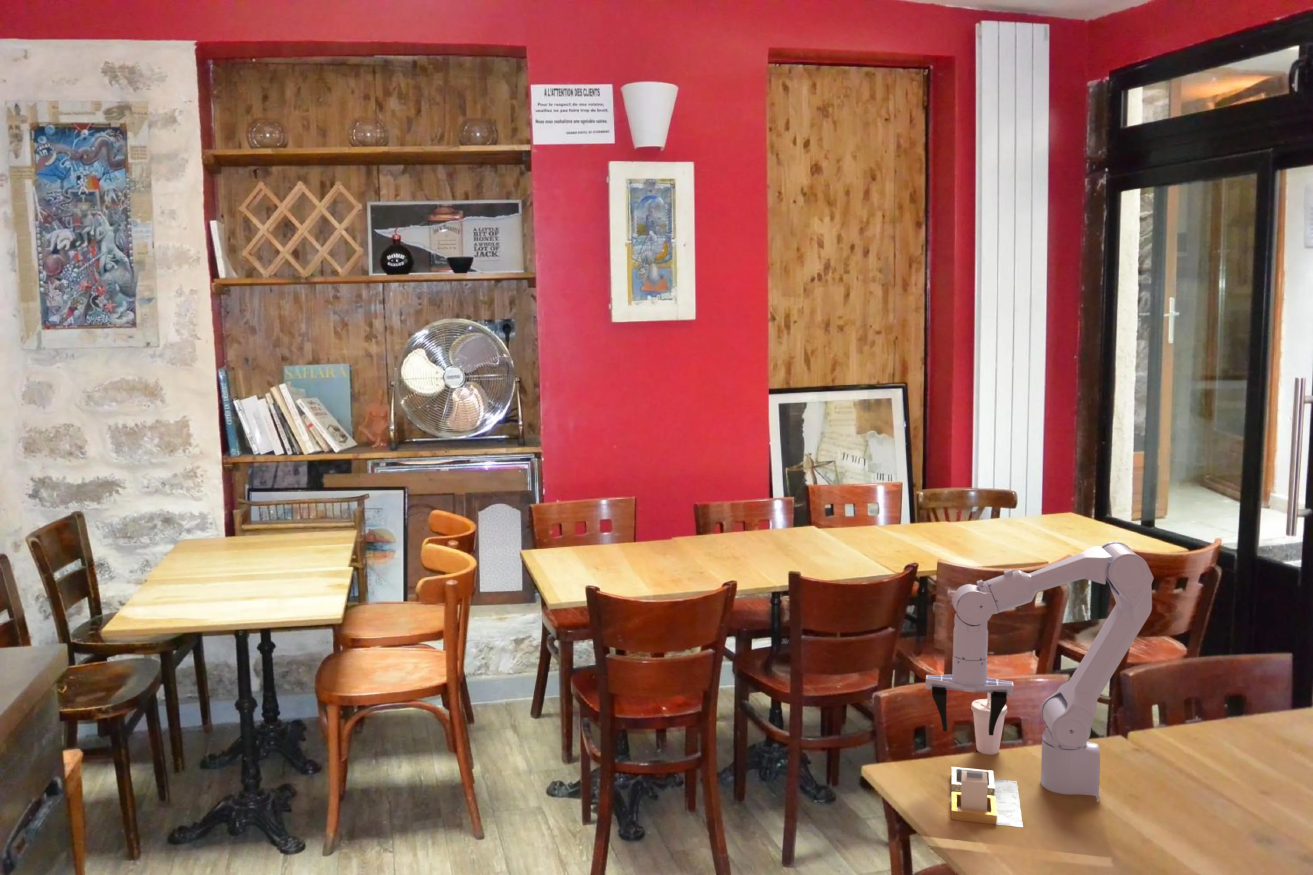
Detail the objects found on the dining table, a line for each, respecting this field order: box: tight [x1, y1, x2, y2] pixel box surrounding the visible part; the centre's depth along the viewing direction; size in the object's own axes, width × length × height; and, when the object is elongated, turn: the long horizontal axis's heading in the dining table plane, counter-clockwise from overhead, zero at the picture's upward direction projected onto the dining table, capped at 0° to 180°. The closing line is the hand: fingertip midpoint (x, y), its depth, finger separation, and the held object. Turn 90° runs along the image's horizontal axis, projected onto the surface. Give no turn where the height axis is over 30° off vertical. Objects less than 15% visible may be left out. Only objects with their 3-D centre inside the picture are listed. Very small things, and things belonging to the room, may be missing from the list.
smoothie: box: [970, 693, 1008, 756], centre depth 205 cm, size 6×6×14 cm
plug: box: [961, 770, 988, 812], centre depth 181 cm, size 4×4×7 cm
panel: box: [950, 766, 1024, 828], centre depth 185 cm, size 11×17×2 cm, turn 165°
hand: (967, 730), depth 192 cm, fingers open, 7 cm apart
